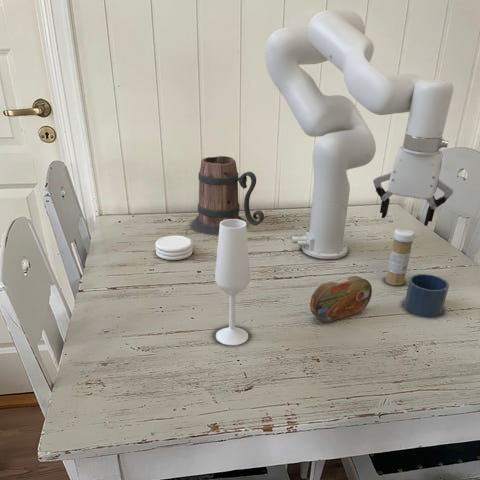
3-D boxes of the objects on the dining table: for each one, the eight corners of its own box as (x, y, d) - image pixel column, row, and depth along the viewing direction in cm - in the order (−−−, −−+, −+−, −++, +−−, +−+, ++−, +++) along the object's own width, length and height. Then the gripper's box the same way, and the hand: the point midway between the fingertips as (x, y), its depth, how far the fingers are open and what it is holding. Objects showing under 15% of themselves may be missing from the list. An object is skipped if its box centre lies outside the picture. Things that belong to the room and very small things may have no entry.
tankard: (181, 228, 150) (178, 162, 140) (208, 212, 163) (207, 150, 153) (250, 242, 142) (252, 173, 131) (273, 224, 154) (276, 160, 144)
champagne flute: (237, 348, 96) (239, 233, 83) (209, 338, 99) (206, 225, 86) (254, 333, 100) (258, 221, 88) (227, 323, 103) (227, 214, 91)
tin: (314, 326, 103) (318, 291, 99) (306, 319, 105) (309, 284, 101) (369, 310, 109) (375, 276, 105) (360, 304, 112) (366, 271, 107)
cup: (412, 317, 107) (418, 291, 103) (398, 299, 114) (404, 274, 110) (448, 316, 107) (455, 290, 104) (432, 298, 114) (438, 273, 111)
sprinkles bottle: (395, 276, 124) (405, 226, 117) (408, 284, 120) (419, 232, 113) (381, 280, 122) (390, 229, 115) (393, 287, 119) (404, 235, 112)
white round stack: (149, 257, 132) (148, 245, 130) (167, 244, 140) (166, 232, 138) (182, 263, 129) (181, 251, 127) (198, 249, 137) (198, 238, 135)
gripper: (465, 145, 104) (445, 221, 113) (384, 135, 110) (371, 208, 119) (463, 152, 98) (442, 232, 108) (377, 142, 104) (364, 218, 114)
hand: (404, 220), depth 113 cm, fingers open, 9 cm apart
